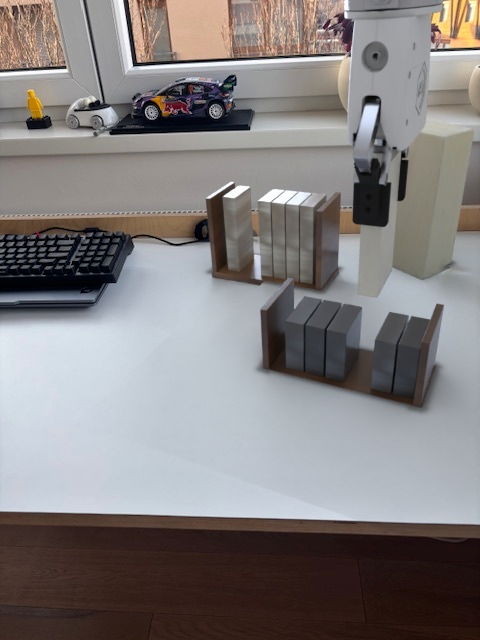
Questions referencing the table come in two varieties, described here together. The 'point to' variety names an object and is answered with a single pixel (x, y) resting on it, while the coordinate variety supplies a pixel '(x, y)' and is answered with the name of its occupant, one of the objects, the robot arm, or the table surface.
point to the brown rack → (274, 236)
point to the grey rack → (349, 347)
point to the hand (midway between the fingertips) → (379, 209)
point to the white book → (379, 240)
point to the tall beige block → (432, 199)
